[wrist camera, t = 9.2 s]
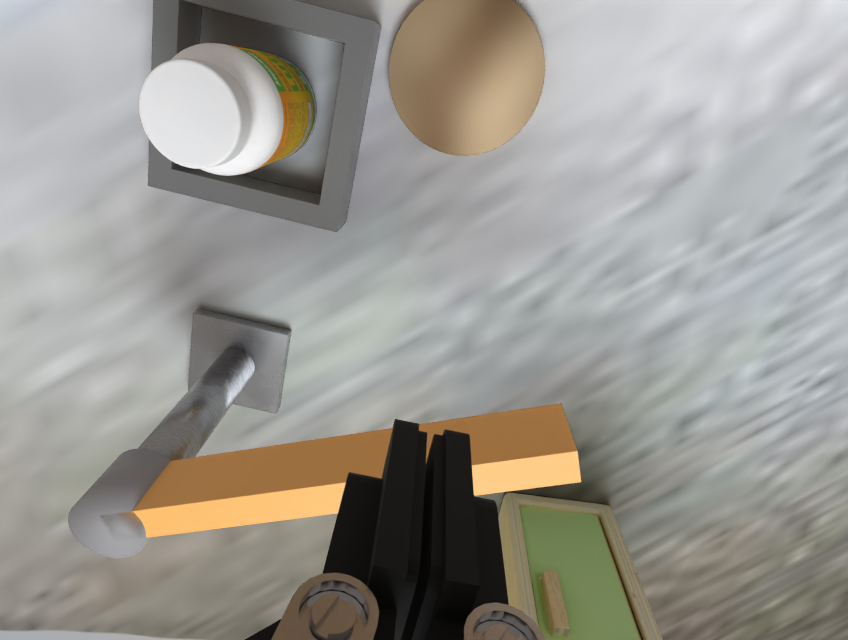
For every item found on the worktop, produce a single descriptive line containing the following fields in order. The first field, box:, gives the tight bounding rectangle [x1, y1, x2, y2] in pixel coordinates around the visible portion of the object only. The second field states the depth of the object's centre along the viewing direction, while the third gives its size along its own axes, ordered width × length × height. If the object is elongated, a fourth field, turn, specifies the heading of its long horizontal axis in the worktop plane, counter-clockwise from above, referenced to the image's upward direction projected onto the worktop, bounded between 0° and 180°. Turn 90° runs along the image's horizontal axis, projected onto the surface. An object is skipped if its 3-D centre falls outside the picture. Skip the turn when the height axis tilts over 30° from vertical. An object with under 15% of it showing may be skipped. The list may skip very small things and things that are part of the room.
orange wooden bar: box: [68, 403, 581, 558], centre depth 23 cm, size 21×3×3 cm, turn 102°
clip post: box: [138, 309, 291, 461], centre depth 31 cm, size 6×6×12 cm
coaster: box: [389, 0, 545, 156], centre depth 28 cm, size 8×8×1 cm
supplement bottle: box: [139, 43, 316, 176], centre depth 25 cm, size 5×5×10 cm
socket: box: [148, 0, 381, 232], centre depth 28 cm, size 10×10×2 cm
